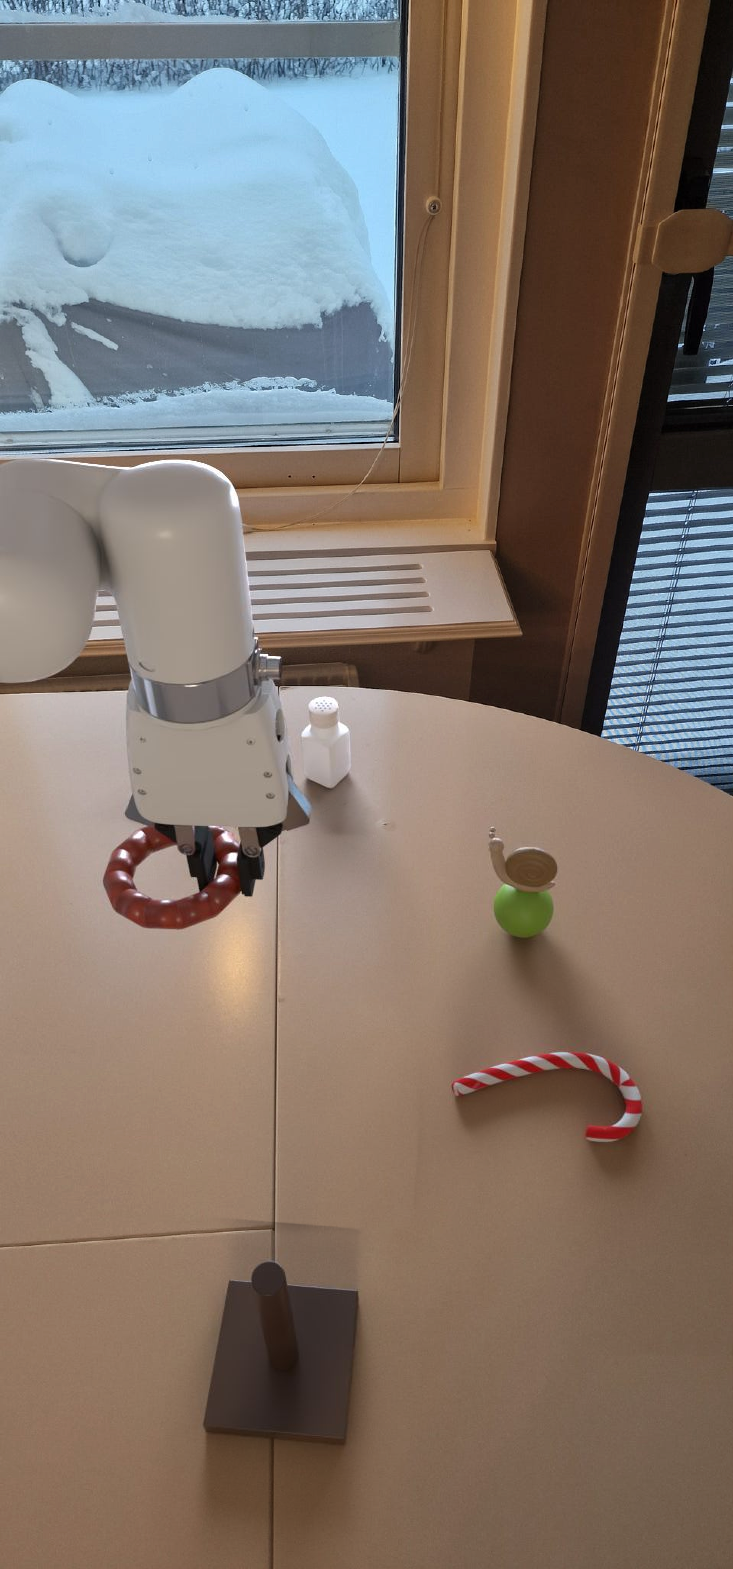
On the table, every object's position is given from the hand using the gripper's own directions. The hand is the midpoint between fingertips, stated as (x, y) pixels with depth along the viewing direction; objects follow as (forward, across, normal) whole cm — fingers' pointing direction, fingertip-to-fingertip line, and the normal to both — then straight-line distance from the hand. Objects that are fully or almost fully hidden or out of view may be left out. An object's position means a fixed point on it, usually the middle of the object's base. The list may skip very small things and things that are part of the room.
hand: (229, 879), depth 74 cm
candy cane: (+20, -24, +4) cm, 32 cm away
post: (+20, -6, +25) cm, 32 cm away
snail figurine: (+20, -22, -14) cm, 33 cm away
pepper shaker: (+20, -3, -34) cm, 40 cm away
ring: (-1, +4, 0) cm, 4 cm away
